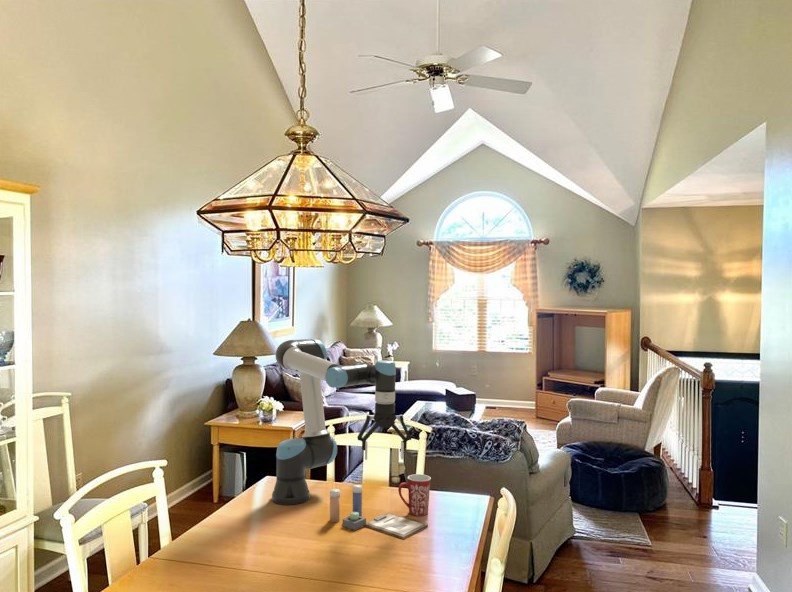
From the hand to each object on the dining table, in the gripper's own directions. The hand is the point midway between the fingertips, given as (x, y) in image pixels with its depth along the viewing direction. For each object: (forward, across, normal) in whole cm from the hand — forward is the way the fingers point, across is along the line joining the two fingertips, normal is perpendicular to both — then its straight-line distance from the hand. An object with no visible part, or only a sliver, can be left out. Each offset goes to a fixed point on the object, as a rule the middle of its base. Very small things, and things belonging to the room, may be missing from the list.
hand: (384, 458), depth 221 cm
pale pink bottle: (+22, -18, -2) cm, 29 cm away
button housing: (+22, -11, -8) cm, 26 cm away
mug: (+22, +12, +3) cm, 25 cm away
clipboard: (+22, +4, -10) cm, 24 cm away
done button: (+20, -11, -8) cm, 24 cm away
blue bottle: (+22, -10, +2) cm, 24 cm away
